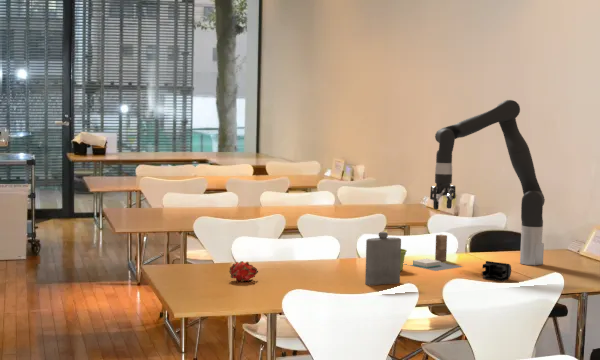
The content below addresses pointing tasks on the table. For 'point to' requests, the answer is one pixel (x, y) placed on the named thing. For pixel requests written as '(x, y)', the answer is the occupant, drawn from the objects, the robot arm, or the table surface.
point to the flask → (383, 260)
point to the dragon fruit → (242, 271)
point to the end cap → (496, 271)
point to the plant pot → (402, 258)
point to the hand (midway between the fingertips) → (442, 208)
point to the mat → (440, 267)
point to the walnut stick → (441, 247)
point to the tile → (426, 263)
